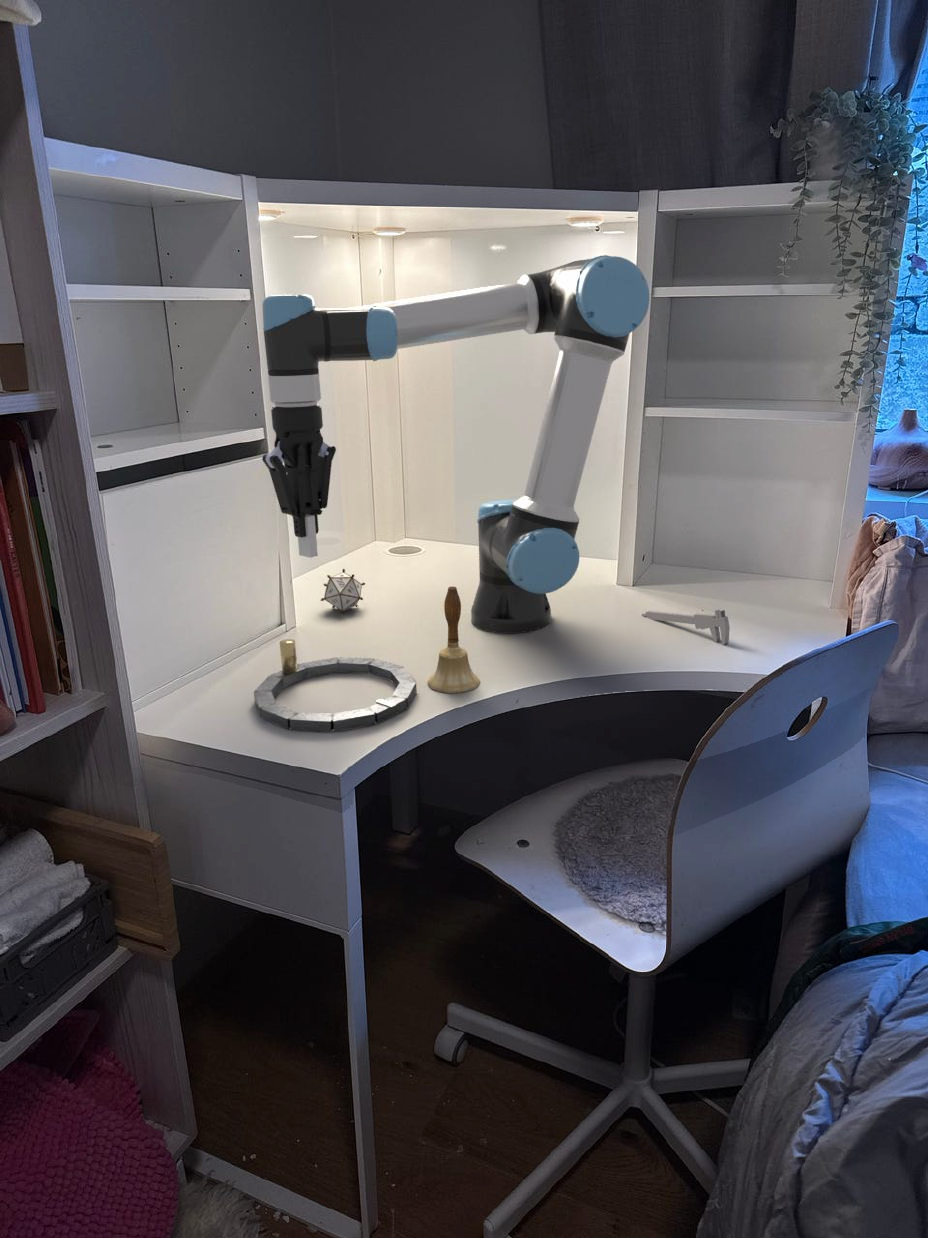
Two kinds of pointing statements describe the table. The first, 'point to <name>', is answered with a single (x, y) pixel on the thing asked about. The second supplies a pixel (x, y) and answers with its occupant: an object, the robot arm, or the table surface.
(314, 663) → the ring
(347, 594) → the game die
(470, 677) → the hand bell
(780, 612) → the table surface
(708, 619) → the caliper
